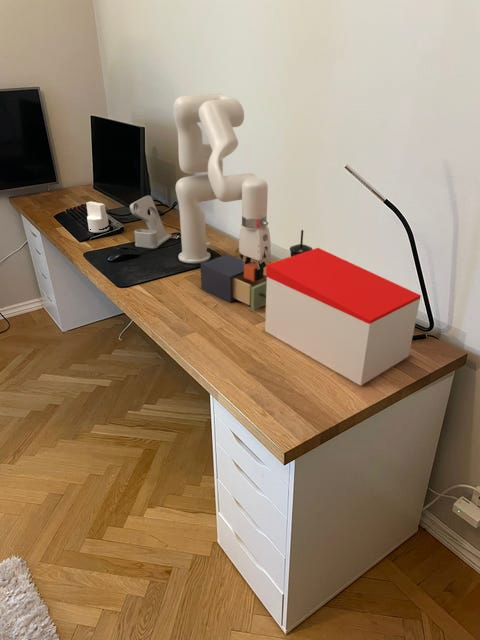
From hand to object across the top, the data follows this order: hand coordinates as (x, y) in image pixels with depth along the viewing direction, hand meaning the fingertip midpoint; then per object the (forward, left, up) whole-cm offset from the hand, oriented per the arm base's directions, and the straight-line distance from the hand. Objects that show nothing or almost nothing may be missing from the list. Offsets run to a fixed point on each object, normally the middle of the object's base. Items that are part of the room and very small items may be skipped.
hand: (253, 276), depth 156 cm
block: (0, 0, 0) cm, 0 cm away
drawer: (+1, +2, -8) cm, 8 cm away
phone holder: (-33, -63, -9) cm, 71 cm away
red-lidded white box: (+14, +31, -9) cm, 35 cm away
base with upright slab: (-35, -94, -9) cm, 101 cm away
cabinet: (-4, -11, -9) cm, 14 cm away
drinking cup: (-18, +9, -9) cm, 22 cm away
